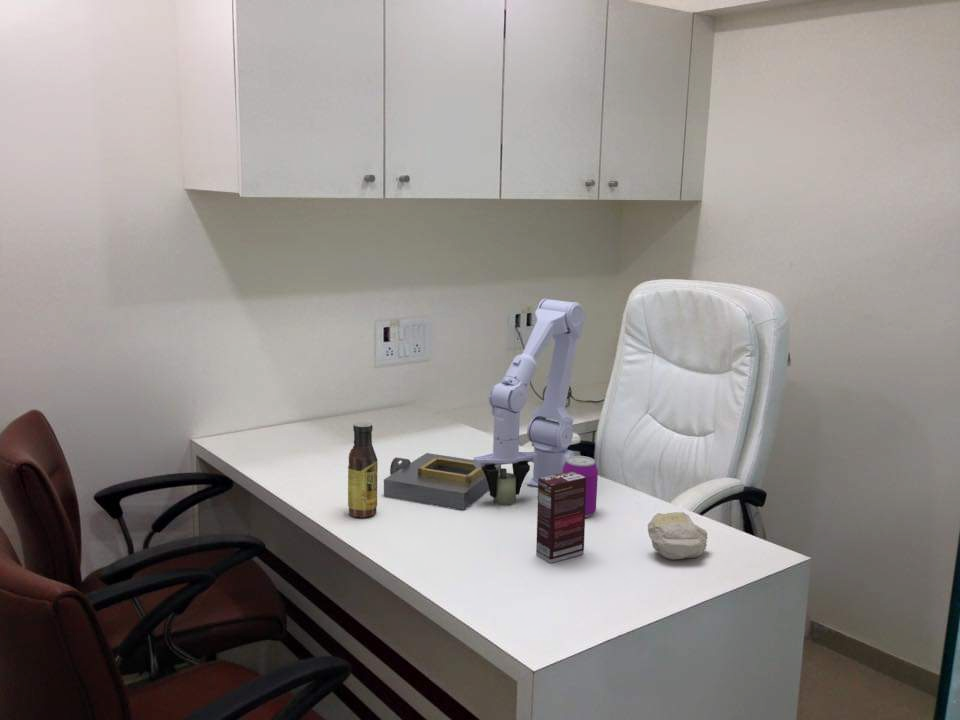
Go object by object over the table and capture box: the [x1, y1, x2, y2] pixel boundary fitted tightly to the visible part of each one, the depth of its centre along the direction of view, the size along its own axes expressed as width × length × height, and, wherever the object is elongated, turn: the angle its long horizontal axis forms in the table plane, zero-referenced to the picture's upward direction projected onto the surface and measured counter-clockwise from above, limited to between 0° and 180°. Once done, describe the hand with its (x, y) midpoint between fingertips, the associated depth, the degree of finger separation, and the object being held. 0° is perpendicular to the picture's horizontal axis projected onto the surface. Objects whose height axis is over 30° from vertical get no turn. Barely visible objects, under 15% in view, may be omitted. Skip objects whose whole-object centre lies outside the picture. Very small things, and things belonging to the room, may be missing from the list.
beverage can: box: [563, 455, 599, 518], centre depth 189 cm, size 8×8×12 cm
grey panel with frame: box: [383, 452, 502, 511], centre depth 204 cm, size 23×22×6 cm
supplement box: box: [535, 471, 586, 564], centre depth 167 cm, size 9×5×16 cm, turn 123°
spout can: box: [492, 467, 517, 507], centre depth 195 cm, size 5×5×8 cm
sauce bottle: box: [347, 421, 379, 519], centre depth 185 cm, size 6×6×20 cm
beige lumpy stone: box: [647, 511, 708, 561], centre depth 169 cm, size 12×8×10 cm
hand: (504, 494), depth 196 cm, fingers closed on spout can, 5 cm apart
